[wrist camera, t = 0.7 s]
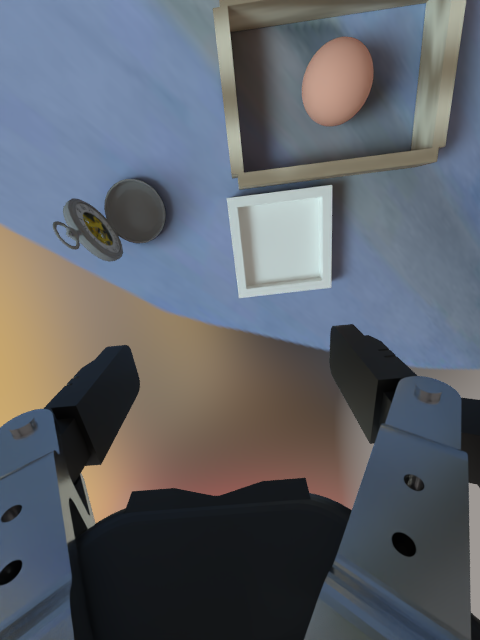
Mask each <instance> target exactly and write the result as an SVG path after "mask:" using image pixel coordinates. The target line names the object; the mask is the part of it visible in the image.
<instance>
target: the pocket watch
mask: <svg viewBox="0 0 480 640" xmlns="http://www.w3.org/2000/svg"><path fill="white" fill-rule="evenodd" d="M104 209H105V214H106V218H107V219H106V218H105V217H104V216H103V215H102V214H101V213H100V212H99V211H98V210H96V209H95V208H94V207H93V206H91V205H90V204H88V203H86V202H84V201H82V200H80V199H71V200H69V201H68V202H67V203H66V205H65V206H64V208H63V214H64V218H65V221H66V223H67V225H68V226H66V225H65V224H64V223H61V222H59V221H57V222H54V223H53V229H54V232H55V234H56V235H57V237H58V238H59V239H60V241H61V242H62V243H63V244H65V245H66V246H67V247H69V248H71V249H78V248H79V245H80V244H79V242H80V243H81V244H82V245H83V246H84V247H85V248H86V249H87V250H89V251H90V252H91V253H92V254H94V255H95V256H97V257H98V258H100V259H102V260H105V261H115V260H117V259H119V258H120V257H122V254H123V249H122V244H121V241H120V239H119V237H118V236H120V237H121V238H123V239H125V240H127V241H129V242H133V243H146V242H148V241H151V240H153V239H155V238H156V237H157V236H158V235H159V234H160V232H161V231H162V229H163V227H164V223H165V220H166V212H165V206H164V204H163V201H162V199H161V197H160V195H159V194H158V193H157V192H156V191H155V190H154V188H153V187H151V186H150V185H148V184H146V183H145V182H143V181H140V180H136V179H125V180H121V181H119V182H117V183H116V184H114V185H113V186H112V187H111V188H110V190H109V191H108V193H107V196H106V199H105V208H104ZM85 220H86V221H88V222H89V224H88V222H86V221H85ZM57 225H61V226H63V227H65V228H67V229H66V230H67V232H66V235H67V236H68V237H70V238H72V239H73V240H75V241H76V246H71V245H69V244H67V243H66V242H65V241H64V240H63V239H62V238H61V237H60V235H59V233H58V231H57V229H56V226H57ZM101 236H102V237H101ZM105 243H106V244H105Z"/></svg>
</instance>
